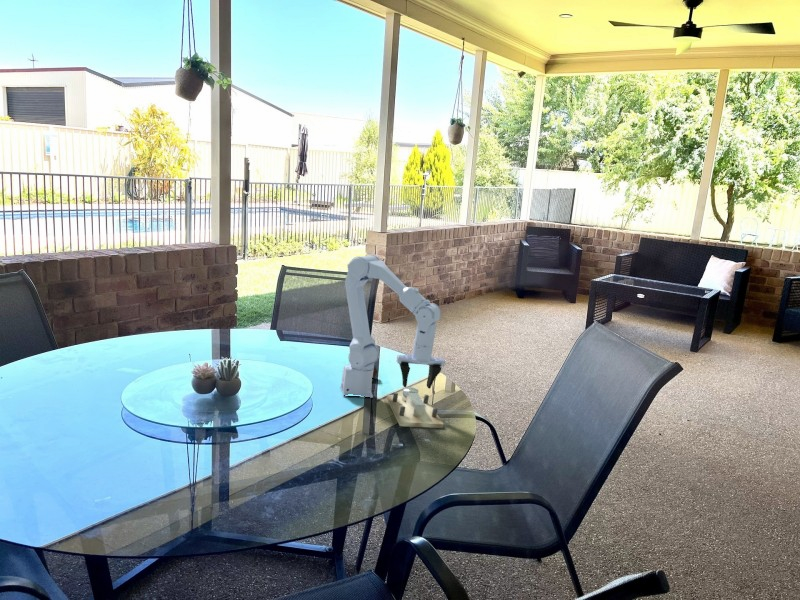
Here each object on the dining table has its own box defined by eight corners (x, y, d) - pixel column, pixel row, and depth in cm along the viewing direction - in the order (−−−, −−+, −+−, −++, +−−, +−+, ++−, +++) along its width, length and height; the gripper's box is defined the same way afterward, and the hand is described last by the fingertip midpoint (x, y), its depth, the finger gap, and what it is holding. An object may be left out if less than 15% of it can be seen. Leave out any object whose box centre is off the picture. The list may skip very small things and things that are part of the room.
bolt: (356, 368, 213) (370, 383, 200) (346, 362, 211) (359, 376, 198) (365, 355, 214) (380, 369, 200) (355, 349, 211) (369, 362, 198)
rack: (399, 426, 166) (401, 414, 165) (386, 398, 185) (388, 387, 184) (442, 427, 169) (445, 416, 168) (425, 400, 188) (427, 389, 187)
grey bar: (410, 415, 171) (412, 404, 170) (400, 396, 184) (401, 386, 184) (425, 416, 172) (427, 405, 171) (414, 397, 185) (416, 387, 185)
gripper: (403, 346, 168) (396, 390, 171) (450, 350, 171) (442, 393, 174) (398, 338, 174) (391, 381, 177) (443, 342, 178) (436, 384, 181)
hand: (416, 386), depth 176 cm, fingers open, 7 cm apart
